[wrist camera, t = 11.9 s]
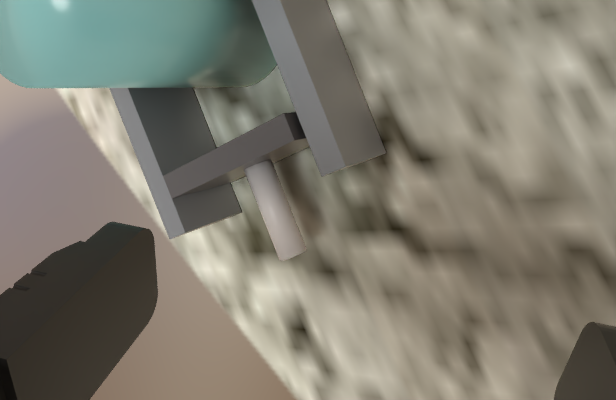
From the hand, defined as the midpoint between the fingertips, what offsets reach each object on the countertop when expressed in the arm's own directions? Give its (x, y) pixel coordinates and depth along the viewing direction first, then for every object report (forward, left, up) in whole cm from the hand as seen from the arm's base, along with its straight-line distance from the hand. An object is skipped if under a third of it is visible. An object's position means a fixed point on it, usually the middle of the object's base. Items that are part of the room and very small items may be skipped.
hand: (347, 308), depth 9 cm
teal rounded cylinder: (-11, -7, -11) cm, 17 cm away
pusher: (-3, -7, -11) cm, 13 cm away
